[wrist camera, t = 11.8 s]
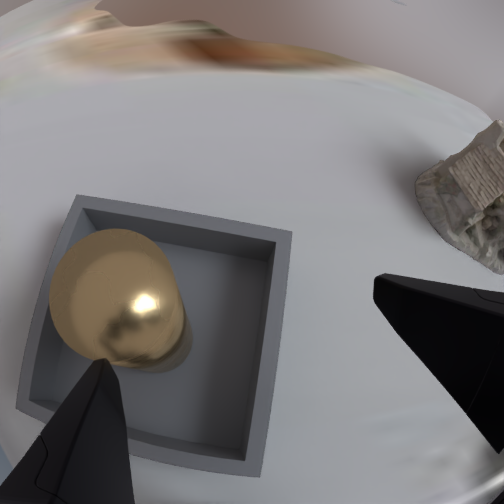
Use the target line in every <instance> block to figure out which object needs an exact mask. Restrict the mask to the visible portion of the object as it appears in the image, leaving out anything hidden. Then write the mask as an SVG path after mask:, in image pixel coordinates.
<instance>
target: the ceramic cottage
mask: <svg viewBox="0 0 504 504" xmlns="http://www.w3.org/2000/svg"><path fill="white" fill-rule="evenodd" d="M415 183H416V184H415V193H416V196H417V201H418V203H419V205H420V207H421V208H422V211H423V212H424V214H425V216H426V217H427V218H428V220H429V221H430V223H431V224H432V226H433V227H434V228H435V230H437V231H438V233H440V235H441V236H442V238H443V239H444V240H445V241H446V242H448V243H449V244H451V245H452V246H454V247H456V248H458V249H460V250H461V251H462V252H464V253H465V254H467V255H469V256H470V257H472V258H473V259H475V260H478V261H479V262H480V263H481V264H483V265H484V266H486V267H488V268H489V269H490V270H492V271H493V272H495V273H497V274H500V275H503V274H504V123H503V122H502V121H501V120H496V121H494V122H493V123H492V124H491V125H490V126H489V127H488V128H486V129H485V130H484V131H482V132H480V133H478V134H477V135H476V136H475V138H474V139H473V141H472V142H471V143H470V144H469V145H468V146H467V147H465V148H464V149H463V150H462V151H461V152H459V153H457V154H454V155H451V156H450V157H449V158H447V159H446V160H445V161H443V160H440V161H439V163H438V164H436V165H435V166H434V167H432V168H431V169H428V170H427V171H425V172H424V173H423V174H421V175H420V176H419V177H418V178H417V181H416V182H415Z"/></svg>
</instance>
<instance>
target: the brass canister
mask: <svg viewBox="0 0 504 504" xmlns="http://www.w3.org/2000/svg"><path fill="white" fill-rule="evenodd" d="M49 306H50V313H51V317H52V320H53V323H54V326H55V328H56V330H57V331H58V333H59V335H60V336H61V338H62V339H63V340H64V342H65V343H66V344H67V345H68V346H69V347H70V348H72V349H73V350H74V351H75V352H77V353H79V354H80V355H82V356H84V357H86V358H89V359H91V360H96V359H101V358H107V359H108V360H109V362H110V364H112V365H117V366H121V367H126V368H131V369H136V370H141V371H146V372H151V373H164V372H168V371H171V370H173V369H175V368H177V367H178V366H179V365H181V364H182V363H183V362H184V361H185V359H186V358H187V356H188V355H189V353H190V350H191V347H192V342H193V333H192V328H191V324H190V322H189V319H188V316H187V313H186V310H185V307H184V304H183V301H182V298H181V295H180V292H179V289H178V286H177V283H176V280H175V276H174V273H173V270H172V268H171V265H170V263H169V261H168V259H167V257H166V255H165V254H164V253H163V251H162V250H161V249H160V248H159V247H158V246H157V245H156V244H155V243H154V242H153V241H151V240H150V239H149V238H147V237H145V236H144V235H142V234H139V233H137V232H135V231H131V230H126V229H106V230H101V231H98V232H95V233H92V234H90V235H88V236H86V237H84V238H82V239H81V240H79V241H78V242H77V243H75V244H74V245H73V246H72V247H71V248H70V249H69V250H68V251H67V252H66V253H65V254H64V256H63V257H62V259H61V260H60V262H59V263H58V265H57V267H56V269H55V272H54V274H53V277H52V280H51V284H50V291H49Z"/></svg>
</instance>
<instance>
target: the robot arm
mask: <svg viewBox="0 0 504 504" xmlns="http://www.w3.org/2000/svg"><path fill="white" fill-rule="evenodd" d="M373 300H374V302H375V304H376V306H377V307H378V308H379V310H380V311H381V312H382V314H383V315H384V316H385V318H386V319H387V320H388V322H389V323H390V325H391V326H392V327H393V329H394V330H395V331H396V333H397V334H398V335H399V336H400V337H401V338H402V340H403V341H404V342H405V343H406V344H407V345H408V346H409V347H410V349H411V350H412V351H413V352H414V353H415V354H416V355H417V357H418V358H419V359H420V360H421V361H422V362H423V363H424V365H425V366H426V367H427V368H428V369H429V370H430V371H431V373H432V374H433V375H434V376H435V377H436V378H437V380H438V381H439V382H440V383H441V384H442V385H443V387H444V388H445V389H446V390H447V391H448V393H449V394H450V395H451V396H452V397H453V399H454V400H455V401H456V402H457V403H458V405H459V406H460V407H461V408H462V410H463V411H464V412H465V413H466V415H467V416H468V417H469V418H470V420H471V421H472V422H473V423H474V425H475V426H476V427H477V428H478V430H479V431H480V432H481V433H482V435H483V436H484V437H485V439H486V440H487V441H488V442H489V444H490V445H491V446H492V448H493V449H494V450H495V451H496V452H497V453H498V454H500V453H501V452H502V451H503V450H504V292H496V291H489V290H482V289H476V288H473V289H472V288H470V287H464V286H458V285H452V284H446V283H440V282H435V281H429V280H423V279H417V278H411V277H405V276H399V275H393V274H387V273H384V274H381V275H379V276H376V277H375V279H374V291H373ZM0 504H135V501H134V494H133V487H132V479H131V470H130V461H129V450H128V438H127V426H126V420H125V414H124V408H123V402H122V396H121V389H120V383H119V380H118V377H117V375H116V373H115V372H114V370H113V368H112V366H111V364H110V362H109V360H108V359H107V358H101V359H96V360H94V361H93V362H92V363H91V365H90V366H89V367H88V369H87V370H86V371H85V373H84V374H83V375H82V377H81V378H80V379H79V381H78V382H77V383H76V385H75V386H74V387H73V389H72V390H71V391H70V393H69V394H68V395H67V397H66V398H65V399H64V401H63V402H62V403H61V405H60V406H59V408H58V409H57V410H56V412H55V413H54V415H53V416H52V417H51V419H50V420H49V422H48V423H47V424H46V426H45V427H44V429H43V430H42V431H41V433H40V435H39V436H38V437H37V439H36V440H35V441H34V443H33V444H32V446H31V447H30V448H29V450H28V451H27V453H26V454H25V455H24V457H23V458H22V459H21V461H20V462H19V463H18V464H17V466H16V467H15V468H14V469H13V471H12V472H11V473H10V474H9V476H8V477H7V478H6V479H5V481H4V482H3V483H2V485H1V486H0ZM487 504H504V487H503V488H502V489H501V490H500V491H499V492H498V493H497V494H496V495H495V496H494V497H493V498H492V499H491V500H490V501H489V502H488V503H487Z"/></svg>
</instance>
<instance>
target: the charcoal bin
mask: <svg viewBox="0 0 504 504" xmlns="http://www.w3.org/2000/svg"><path fill="white" fill-rule="evenodd" d="M106 229H126V230H131V231H135V232H137V233H139V234H142V235H144V236H145V237H147V238H149V239H150V240H151V241H153V242H154V243H155V244H156V245H157V246H158V247H159V248H160V249H161V250H162V251H163V253H164V254H165V255H166V257H167V259H168V261H169V263H170V265H171V268H172V270H173V273H174V276H175V280H176V283H177V286H178V289H179V292H180V295H181V298H182V301H183V304H184V307H185V310H186V313H187V316H188V319H189V322H190V324H191V328H192V333H193V342H192V347H191V350H190V353H189V355H188V356H187V358H186V359H185V361H184V362H183V363H182V364H181V365H179V366H178V367H177V368H175V369H173V370H171V371H168V372H164V373H151V372H146V371H141V370H136V369H131V368H126V367H121V366H117V365H112V364H111V366H112V368H113V370H114V372H115V373H116V375H117V377H118V380H119V383H120V389H121V396H122V402H123V408H124V414H125V420H126V426H127V438H128V450H129V454H131V455H134V456H138V457H142V458H146V459H150V460H154V461H158V462H162V463H166V464H171V465H175V466H180V467H185V468H191V469H196V470H202V471H208V472H215V473H222V474H230V475H238V476H248V477H260V474H261V468H262V462H263V456H264V450H265V444H266V438H267V432H268V425H269V419H270V412H271V405H272V398H273V391H274V384H275V377H276V370H277V362H278V355H279V347H280V339H281V331H282V323H283V315H284V306H285V298H286V289H287V280H288V270H289V261H290V251H291V241H292V231H286V230H281V229H276V228H271V227H266V226H260V225H255V224H250V223H244V222H239V221H234V220H228V219H223V218H217V217H212V216H206V215H200V214H195V213H189V212H183V211H177V210H171V209H166V208H160V207H154V206H148V205H141V204H135V203H129V202H123V201H116V200H110V199H104V198H97V197H90V196H84V195H76V197H75V199H74V202H73V204H72V206H71V208H70V211H69V213H68V215H67V218H66V220H65V223H64V225H63V228H62V230H61V233H60V235H59V238H58V240H57V243H56V245H55V248H54V251H53V254H52V256H51V259H50V262H49V265H48V268H47V271H46V274H45V277H44V280H43V283H42V286H41V290H40V293H39V296H38V300H37V303H36V307H35V311H34V314H33V318H32V322H31V326H30V330H29V334H28V339H27V343H26V348H25V353H24V358H23V363H22V368H21V374H20V380H19V386H18V393H17V401H16V409H17V410H19V411H21V412H23V413H25V414H27V415H29V416H31V417H33V418H36V419H38V420H40V421H42V422H44V423H46V424H47V423H48V422H49V420H50V419H51V417H52V416H53V415H54V413H55V412H56V410H57V409H58V408H59V406H60V405H61V403H62V402H63V401H64V399H65V398H66V397H67V395H68V394H69V393H70V391H71V390H72V389H73V387H74V386H75V385H76V383H77V382H78V381H79V379H80V378H81V377H82V375H83V374H84V373H85V371H86V370H87V369H88V367H89V366H90V365H91V363H92V362H93V361H94V360H91V359H89V358H86V357H84V356H82V355H80V354H79V353H77V352H75V351H74V350H73V349H72V348H70V347H69V346H68V345H67V344H66V343H65V342H64V340H63V339H62V338H61V336H60V335H59V333H58V331H57V330H56V328H55V326H54V323H53V320H52V317H51V313H50V306H49V291H50V284H51V280H52V277H53V274H54V272H55V269H56V267H57V265H58V263H59V262H60V260H61V259H62V257H63V256H64V254H65V253H66V252H67V251H68V250H69V249H70V248H71V247H72V246H73V245H74V244H75V243H77V242H78V241H79V240H81V239H82V238H84V237H86V236H88V235H90V234H92V233H95V232H98V231H101V230H106Z"/></svg>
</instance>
